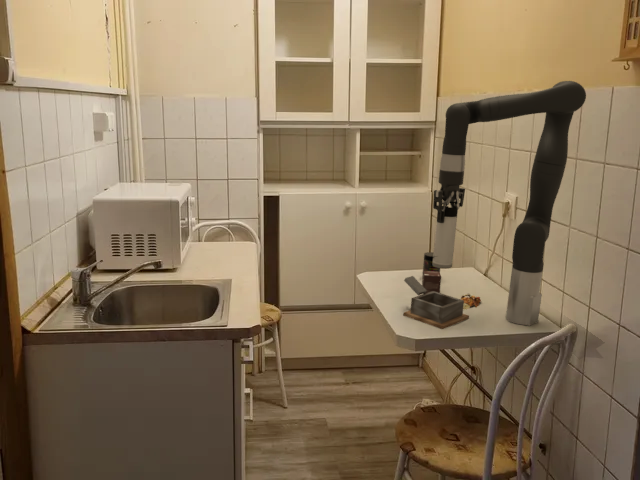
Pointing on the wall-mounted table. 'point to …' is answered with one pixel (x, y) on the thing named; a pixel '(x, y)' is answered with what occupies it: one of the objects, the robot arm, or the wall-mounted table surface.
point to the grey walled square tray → (437, 310)
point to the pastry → (470, 301)
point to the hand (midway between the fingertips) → (446, 221)
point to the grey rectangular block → (415, 285)
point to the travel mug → (445, 239)
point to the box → (431, 281)
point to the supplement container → (429, 263)
